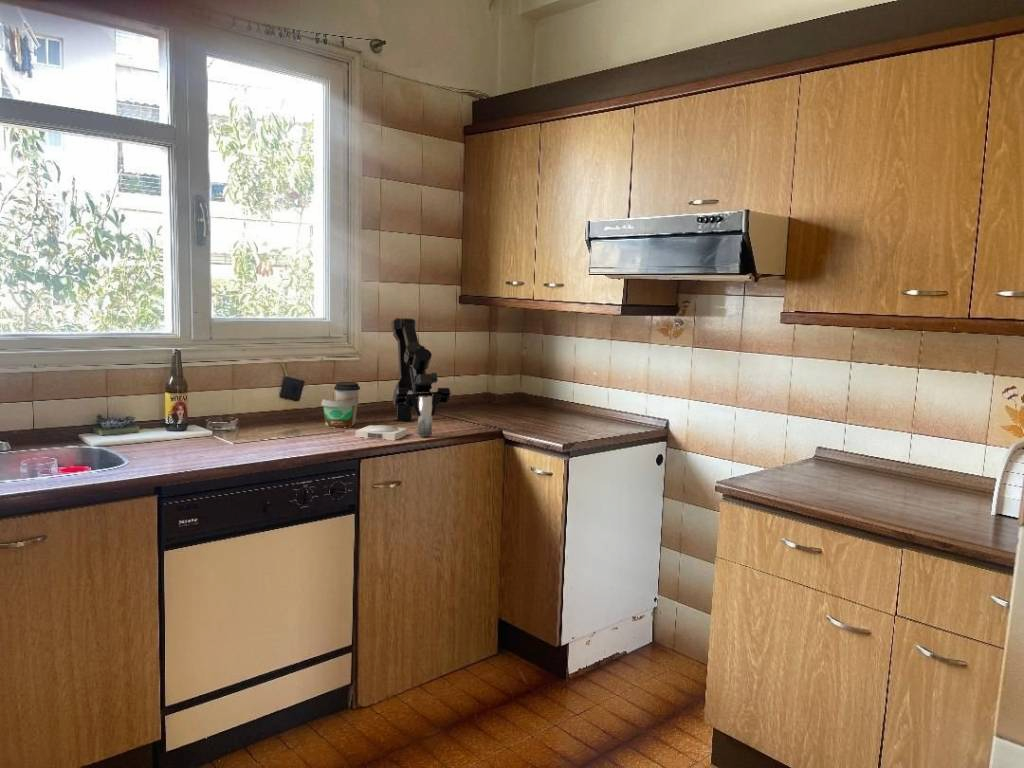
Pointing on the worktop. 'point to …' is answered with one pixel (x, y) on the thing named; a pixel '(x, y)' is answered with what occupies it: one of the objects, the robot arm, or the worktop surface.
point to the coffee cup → (347, 393)
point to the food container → (338, 413)
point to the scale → (381, 432)
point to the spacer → (425, 415)
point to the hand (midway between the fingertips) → (426, 415)
